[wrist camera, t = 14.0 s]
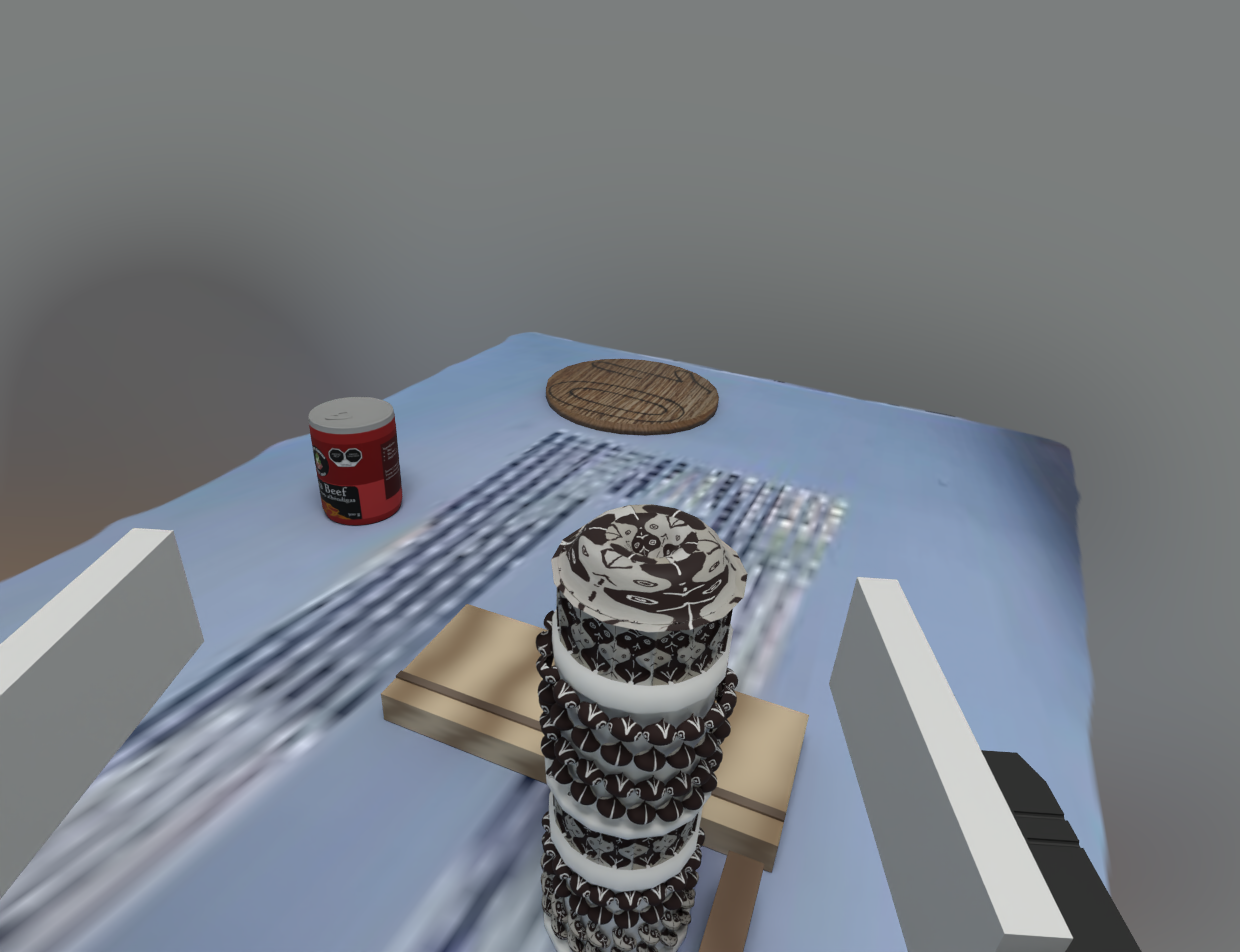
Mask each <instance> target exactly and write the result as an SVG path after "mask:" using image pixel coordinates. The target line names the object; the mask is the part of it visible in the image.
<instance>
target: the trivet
mask: <svg viewBox="0 0 1240 952" xmlns="http://www.w3.org/2000/svg"><path fill="white" fill-rule="evenodd" d="M546 399H547V401H548V403H549V406H550V407H551V408H552V409H553V410H554V411H555V412H556V413H557V414H559V415H560V416H561V417H563V418H565V419H567V420H569V421H571V422H573V423H575V424H578V425H581V426H585V427H588V428H591V429H595V430H599V431H605V432H611V433H617V434H627V435H661V434H671V433H676V432H681V431H686V430H690V429H693V428H695V427H697V426H700V425H702V424H705V423H706V422H707V421H708V420H710V419H711V418H712V417H713V416H714V415H715V412H716V410H717V407H718V399H719V396H718V393H717V390H716V388H715V387H714V386H713V385H712V384H711V383H710V382H709V381H708V380H706V379H705V378H703V377H701V376H699V375H698V374H696V373H693V372H691V371H688V370H685V369H683V368H680V367H676V366H672V365H668V364H664V363H659V362H652V361H645V360H633V359H604V360H595V361H588V362H582V363H578V364H575V365H571V366H568V367H566V368H564V369H561V370H559V371H557V372H556V373H555V374H553V375H552V376H551V377H550V378H549V379H548V383H547V387H546Z"/></svg>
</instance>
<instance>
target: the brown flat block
mask: <svg viewBox="0 0 1240 952" xmlns="http://www.w3.org/2000/svg"><path fill="white" fill-rule="evenodd" d="M763 868H764V864H763V863H761V862H758V861H756V860H753V859H751V858H748V857H746V856H743V855H740V854H738V853H735V852H733V851H730V850H729V852H728V855H727V858H726V862H725V865H724V868H723V872H722V875H721V878H720V882H719V885H718V888H717V892H716V895H715V899H714V902H713V905H712V909H711V912H710V915H709V919H708V922H707V925H706V929H705V932H704V935H703V939H702V942H701V945H700V949H699V952H743V950H744V946H745V942H746V937H747V933H748V929H749V925H750V921H751V917H752V913H753V909H754V905H755V901H756V897H757V893H758V889H759V885H760V880H761V876H762V872H763Z"/></svg>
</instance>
